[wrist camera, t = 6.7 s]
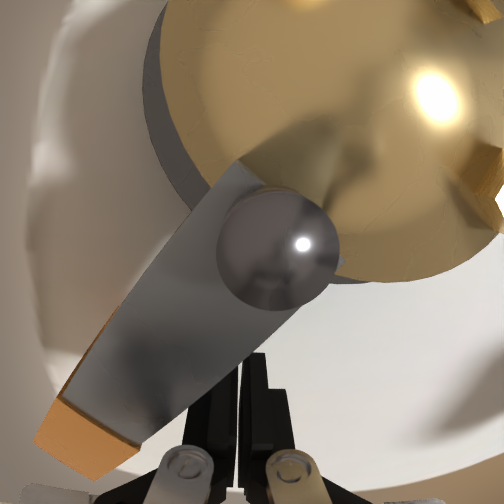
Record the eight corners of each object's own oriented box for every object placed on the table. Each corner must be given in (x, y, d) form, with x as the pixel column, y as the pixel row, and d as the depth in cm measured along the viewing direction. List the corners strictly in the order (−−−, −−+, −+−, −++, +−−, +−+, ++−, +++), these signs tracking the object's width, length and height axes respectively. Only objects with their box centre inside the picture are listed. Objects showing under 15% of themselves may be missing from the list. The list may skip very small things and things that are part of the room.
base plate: (184, -54, 8) (175, -82, 6) (468, 11, 9) (494, -1, 6) (150, 253, 13) (131, 275, 10) (453, 272, 13) (481, 292, 11)
